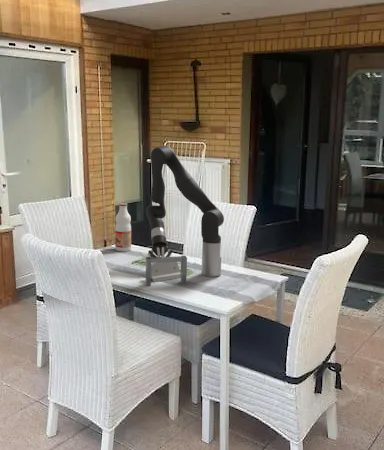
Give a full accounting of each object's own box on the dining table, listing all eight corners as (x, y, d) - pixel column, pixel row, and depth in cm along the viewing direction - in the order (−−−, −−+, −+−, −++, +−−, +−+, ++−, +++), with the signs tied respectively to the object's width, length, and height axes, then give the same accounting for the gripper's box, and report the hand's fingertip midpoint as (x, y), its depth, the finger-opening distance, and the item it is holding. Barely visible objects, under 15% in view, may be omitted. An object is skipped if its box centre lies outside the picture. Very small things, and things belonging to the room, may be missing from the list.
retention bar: (184, 281, 240) (185, 255, 237) (186, 284, 236) (187, 257, 233) (145, 283, 236) (145, 256, 233) (146, 285, 232) (146, 259, 229)
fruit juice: (130, 251, 292) (130, 205, 287) (114, 251, 292) (114, 204, 286) (131, 248, 301) (132, 202, 296) (116, 247, 301) (116, 202, 296)
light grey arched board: (152, 282, 237) (149, 261, 238) (148, 282, 241) (145, 262, 242) (182, 277, 246) (179, 257, 247) (177, 277, 250) (174, 258, 251)
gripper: (146, 234, 252) (149, 264, 243) (172, 234, 255) (175, 263, 246) (145, 242, 258) (148, 271, 249) (170, 241, 261) (173, 270, 252)
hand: (161, 267), depth 247 cm, fingers closed
